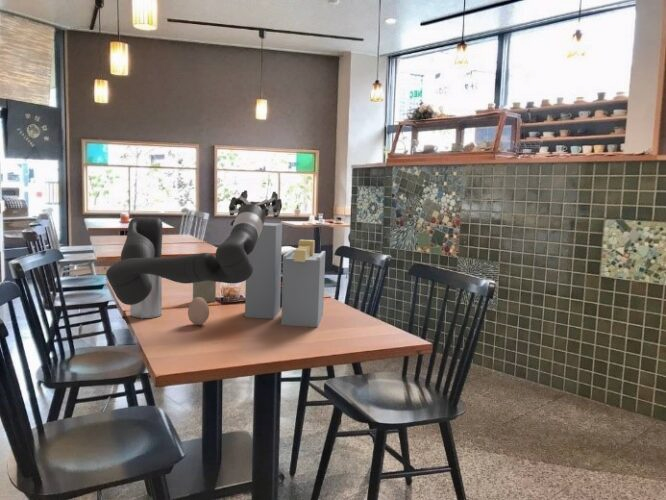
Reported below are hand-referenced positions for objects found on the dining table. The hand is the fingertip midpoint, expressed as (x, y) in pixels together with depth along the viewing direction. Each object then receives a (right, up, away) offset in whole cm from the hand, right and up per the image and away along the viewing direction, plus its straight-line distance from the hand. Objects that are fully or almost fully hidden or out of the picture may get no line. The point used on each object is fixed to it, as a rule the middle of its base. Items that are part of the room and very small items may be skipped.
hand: (260, 193), depth 159 cm
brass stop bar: (+11, -19, +21) cm, 31 cm away
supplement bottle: (+3, -38, +50) cm, 63 cm away
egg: (-22, -41, +16) cm, 49 cm away
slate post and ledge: (+4, -40, +29) cm, 50 cm away
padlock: (-28, -37, +51) cm, 68 cm away
